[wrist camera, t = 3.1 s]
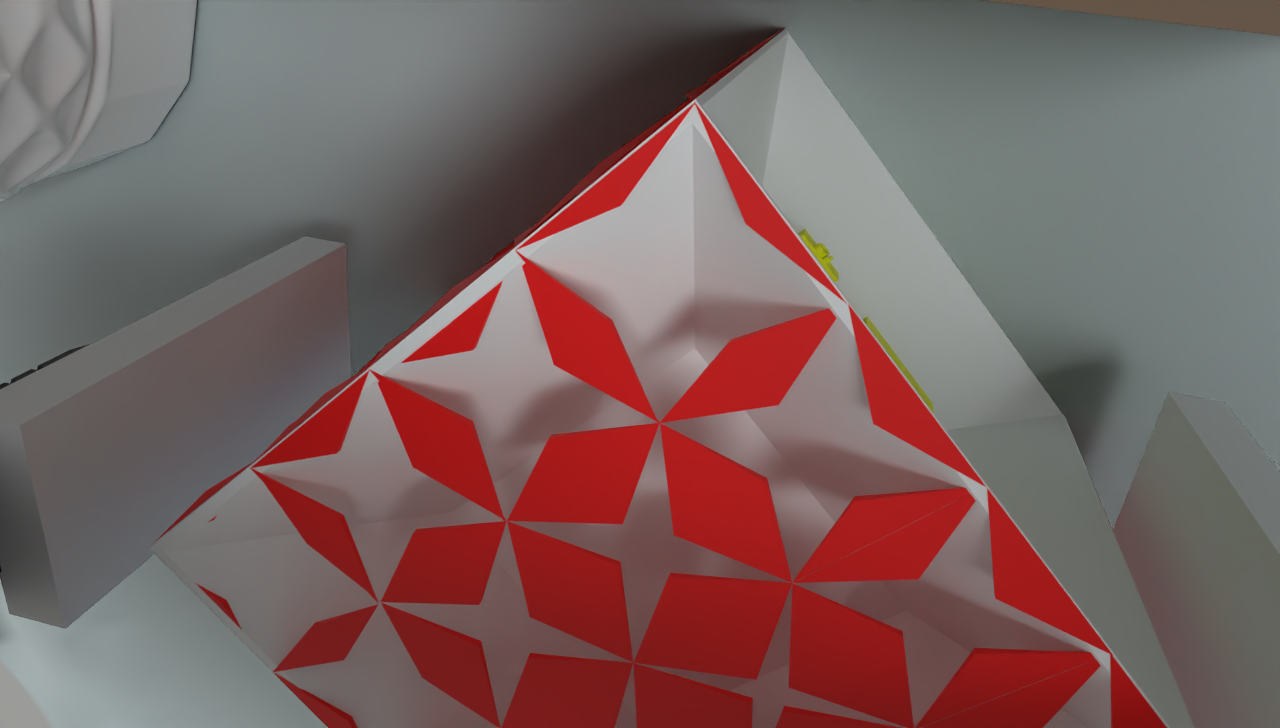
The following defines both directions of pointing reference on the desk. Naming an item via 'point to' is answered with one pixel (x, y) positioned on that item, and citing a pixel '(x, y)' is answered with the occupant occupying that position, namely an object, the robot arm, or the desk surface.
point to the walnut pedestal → (1180, 11)
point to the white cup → (86, 80)
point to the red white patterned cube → (692, 472)
